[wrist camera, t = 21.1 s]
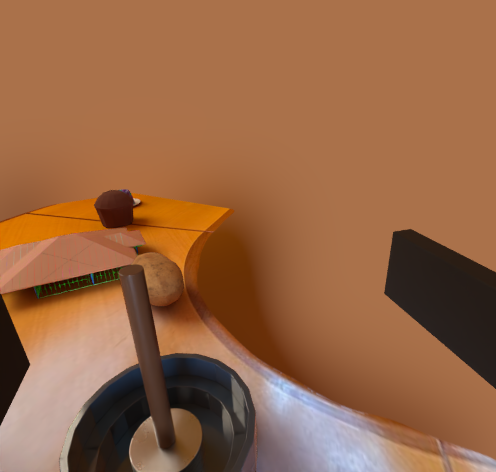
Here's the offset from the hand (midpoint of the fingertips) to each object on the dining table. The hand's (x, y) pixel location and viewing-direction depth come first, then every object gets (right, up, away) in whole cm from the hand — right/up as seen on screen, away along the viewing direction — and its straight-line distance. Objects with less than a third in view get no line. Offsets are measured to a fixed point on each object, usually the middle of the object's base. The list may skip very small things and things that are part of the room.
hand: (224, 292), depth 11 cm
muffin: (-40, +6, +89) cm, 98 cm away
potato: (-16, -10, +49) cm, 53 cm away
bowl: (-7, -22, +22) cm, 31 cm away
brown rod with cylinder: (-7, -21, +22) cm, 31 cm away
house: (-39, -6, +62) cm, 74 cm away
